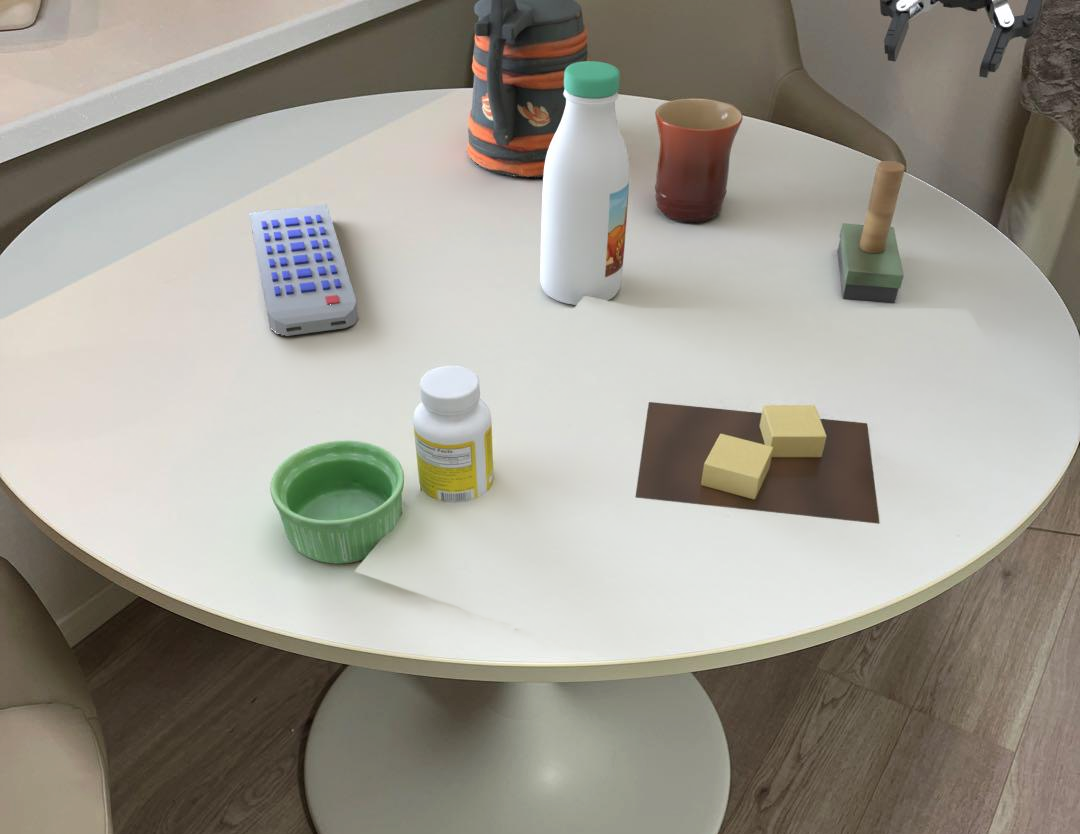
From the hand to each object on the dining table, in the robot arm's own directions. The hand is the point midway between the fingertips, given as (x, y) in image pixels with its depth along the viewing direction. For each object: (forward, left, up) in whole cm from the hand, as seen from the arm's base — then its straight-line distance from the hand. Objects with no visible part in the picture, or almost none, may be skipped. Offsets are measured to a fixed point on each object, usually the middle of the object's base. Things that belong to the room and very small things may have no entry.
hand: (936, 64), depth 98 cm
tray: (+14, +43, -17) cm, 48 cm away
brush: (+4, +10, -17) cm, 20 cm away
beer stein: (+41, -11, -17) cm, 45 cm away
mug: (+21, -3, -17) cm, 27 cm away
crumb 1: (+16, +45, -15) cm, 50 cm away
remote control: (+58, +19, -17) cm, 63 cm away
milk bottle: (+31, +17, -17) cm, 39 cm away
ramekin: (+43, +54, -17) cm, 71 cm away
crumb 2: (+12, +40, -15) cm, 45 cm away
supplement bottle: (+36, +49, -17) cm, 63 cm away
